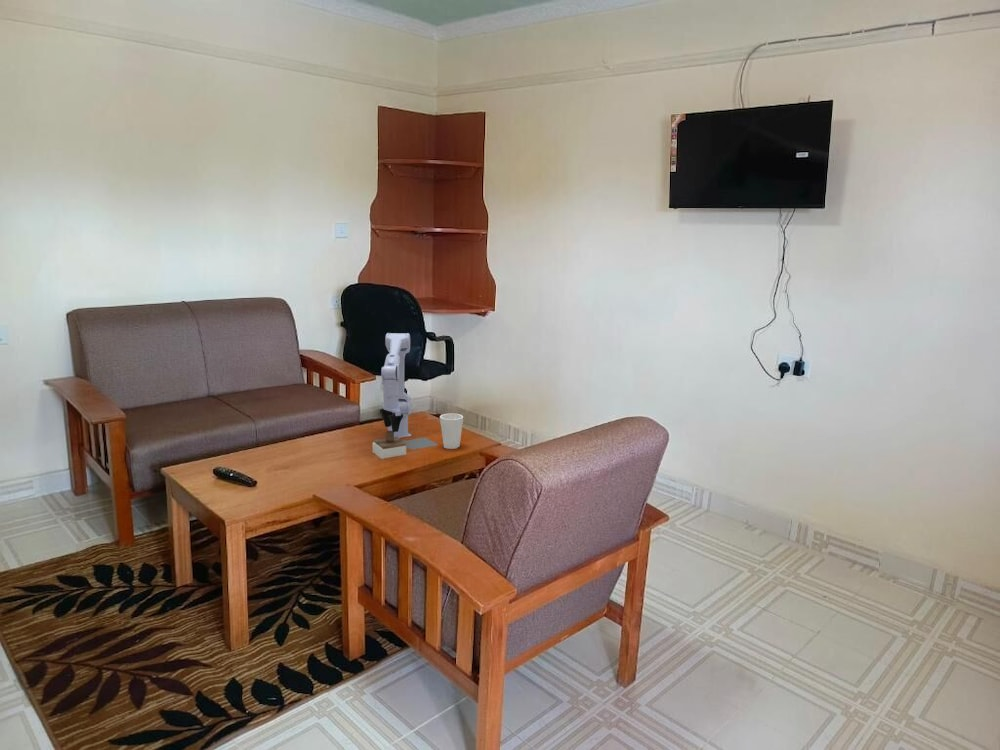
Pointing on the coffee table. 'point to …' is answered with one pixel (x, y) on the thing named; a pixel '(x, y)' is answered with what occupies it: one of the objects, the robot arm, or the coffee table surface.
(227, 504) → the coffee table surface
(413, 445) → the mat
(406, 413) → the robot arm
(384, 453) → the white open box
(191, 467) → the coffee table surface
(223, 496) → the coffee table surface
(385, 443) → the lid
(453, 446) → the foam cup
